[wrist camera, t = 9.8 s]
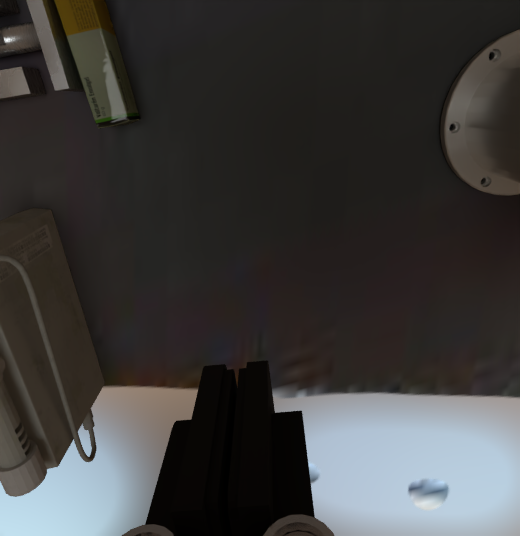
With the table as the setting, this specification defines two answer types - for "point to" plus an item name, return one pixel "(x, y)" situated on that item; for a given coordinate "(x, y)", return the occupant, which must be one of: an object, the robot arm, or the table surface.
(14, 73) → the grey u-shaped bracket
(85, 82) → the medication box
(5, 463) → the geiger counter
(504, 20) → the table surface
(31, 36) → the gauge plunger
